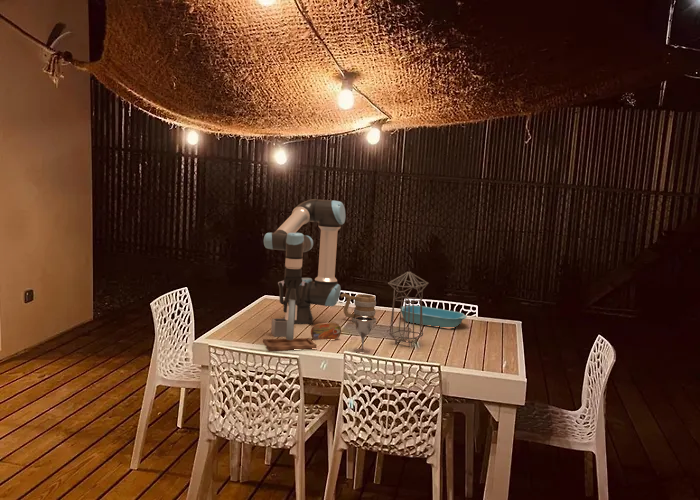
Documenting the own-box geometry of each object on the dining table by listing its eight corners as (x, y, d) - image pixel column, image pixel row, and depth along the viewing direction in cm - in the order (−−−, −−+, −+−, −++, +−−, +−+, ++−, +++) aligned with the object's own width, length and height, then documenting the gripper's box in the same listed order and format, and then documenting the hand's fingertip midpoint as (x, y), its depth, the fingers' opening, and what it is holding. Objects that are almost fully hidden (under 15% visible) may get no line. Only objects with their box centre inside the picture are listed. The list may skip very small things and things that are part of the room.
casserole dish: (470, 325, 366) (471, 312, 365) (459, 333, 345) (460, 319, 344) (407, 315, 380) (407, 303, 379) (393, 322, 360) (394, 309, 359)
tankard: (375, 319, 363) (377, 292, 362) (375, 324, 351) (377, 297, 349) (339, 317, 364) (341, 290, 362) (338, 322, 351) (339, 294, 350)
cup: (284, 334, 319) (285, 318, 318) (288, 338, 313) (288, 321, 312) (271, 334, 317) (271, 318, 316) (274, 338, 311) (275, 321, 310)
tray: (308, 342, 308) (308, 338, 307) (316, 349, 296) (316, 345, 296) (262, 343, 300) (262, 339, 300) (269, 351, 288) (269, 347, 288)
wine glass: (352, 348, 302) (354, 316, 300) (369, 348, 303) (372, 316, 301) (354, 353, 294) (356, 320, 293) (371, 353, 295) (374, 320, 293)
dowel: (292, 338, 300) (294, 299, 297) (294, 340, 297) (296, 300, 294) (285, 338, 298) (287, 299, 296) (287, 340, 295) (289, 300, 293)
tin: (312, 342, 309) (313, 324, 308) (309, 340, 311) (310, 322, 310) (340, 340, 316) (342, 322, 314) (338, 338, 318) (339, 321, 317)
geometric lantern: (413, 350, 305) (416, 275, 301) (383, 344, 313) (386, 271, 309) (427, 343, 318) (431, 271, 314) (398, 338, 327) (401, 268, 322)
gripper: (308, 266, 300) (305, 317, 303) (273, 266, 294) (271, 317, 297) (313, 269, 293) (310, 320, 296) (277, 268, 287) (275, 321, 290)
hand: (290, 319), depth 296 cm, fingers closed on dowel, 3 cm apart
